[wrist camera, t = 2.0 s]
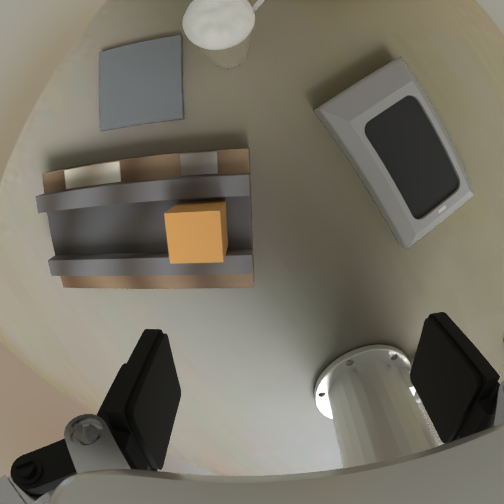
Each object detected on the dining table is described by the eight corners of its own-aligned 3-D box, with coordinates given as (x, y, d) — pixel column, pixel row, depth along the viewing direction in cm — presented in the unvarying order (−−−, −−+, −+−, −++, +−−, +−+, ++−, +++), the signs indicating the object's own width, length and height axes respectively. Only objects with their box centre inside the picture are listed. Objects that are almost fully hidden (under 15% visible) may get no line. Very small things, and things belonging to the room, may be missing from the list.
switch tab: (225, 200, 25) (219, 210, 21) (228, 244, 26) (223, 262, 23) (177, 202, 25) (164, 213, 21) (181, 246, 27) (170, 263, 23)
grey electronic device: (406, 53, 19) (482, 197, 23) (390, 62, 23) (461, 190, 27) (320, 106, 21) (412, 254, 25) (312, 111, 25) (396, 242, 29)
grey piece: (249, 148, 26) (247, 148, 22) (254, 277, 30) (253, 295, 26) (53, 171, 26) (33, 175, 23) (72, 279, 30) (56, 293, 27)
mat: (182, 36, 22) (180, 34, 22) (184, 118, 25) (182, 118, 24) (102, 53, 22) (99, 52, 22) (103, 130, 25) (100, 130, 25)
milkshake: (270, 65, 23) (278, 25, 14) (210, 81, 24) (185, 50, 14) (256, 22, 22) (255, -32, 12) (197, 38, 22) (168, -8, 13)
